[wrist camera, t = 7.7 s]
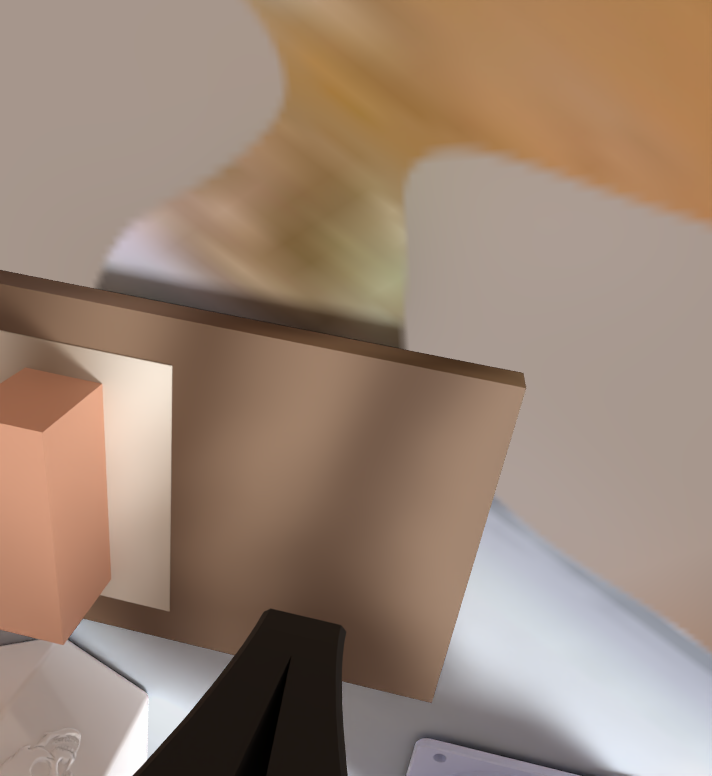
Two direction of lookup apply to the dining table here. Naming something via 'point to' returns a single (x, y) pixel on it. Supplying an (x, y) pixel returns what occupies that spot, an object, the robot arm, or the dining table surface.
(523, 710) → the dining table surface
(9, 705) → the jar
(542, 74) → the dining table surface
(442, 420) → the board
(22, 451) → the t block
